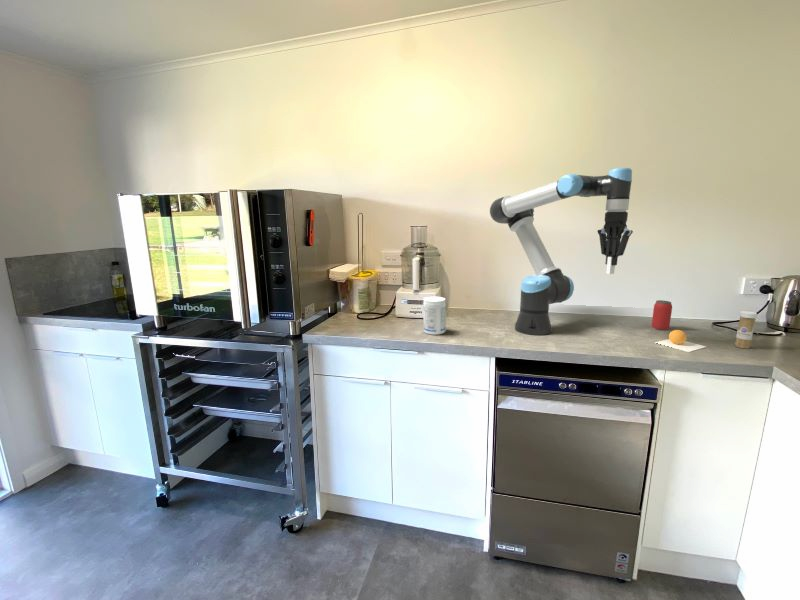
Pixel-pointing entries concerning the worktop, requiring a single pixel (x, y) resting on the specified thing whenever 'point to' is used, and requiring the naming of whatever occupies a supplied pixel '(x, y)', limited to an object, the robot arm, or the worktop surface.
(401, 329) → the worktop surface
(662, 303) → the beer can
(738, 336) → the sprinkles bottle
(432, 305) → the supplement tub
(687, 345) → the spiral notepad
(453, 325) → the worktop surface
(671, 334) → the ball
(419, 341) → the worktop surface
